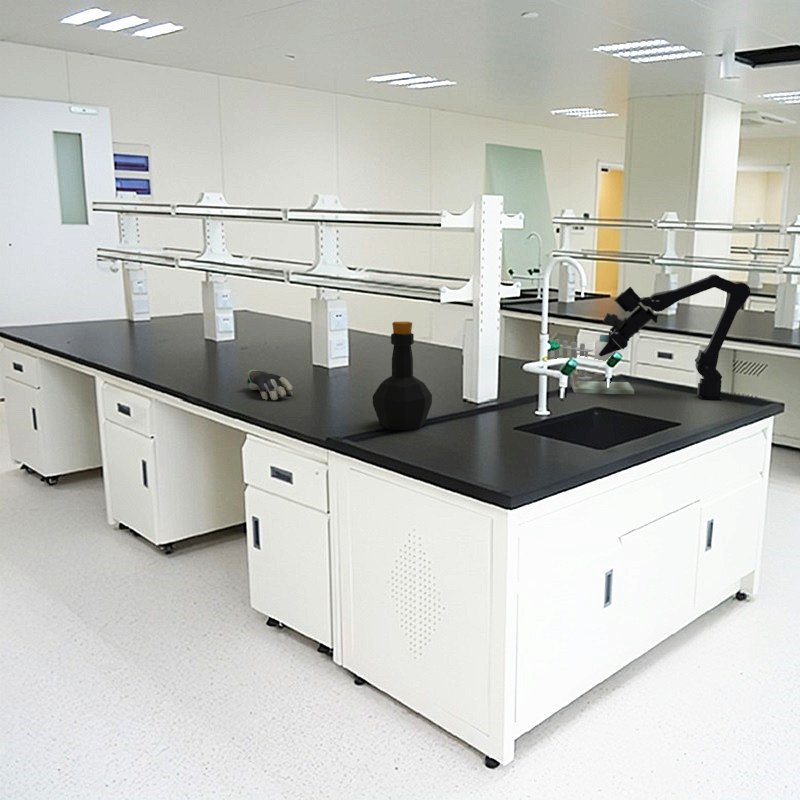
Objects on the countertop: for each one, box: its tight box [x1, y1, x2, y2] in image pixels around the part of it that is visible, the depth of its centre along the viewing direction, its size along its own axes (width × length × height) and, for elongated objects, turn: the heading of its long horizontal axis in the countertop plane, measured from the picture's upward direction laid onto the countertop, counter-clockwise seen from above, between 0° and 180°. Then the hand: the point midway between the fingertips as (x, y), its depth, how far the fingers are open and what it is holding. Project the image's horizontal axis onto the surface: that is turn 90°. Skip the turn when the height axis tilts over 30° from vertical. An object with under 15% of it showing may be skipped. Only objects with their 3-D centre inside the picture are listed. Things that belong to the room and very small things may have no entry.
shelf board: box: [570, 369, 635, 395], centre depth 286 cm, size 20×14×6 cm
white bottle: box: [594, 334, 614, 376], centre depth 278 cm, size 6×6×13 cm
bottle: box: [372, 321, 433, 431], centre depth 233 cm, size 16×16×30 cm
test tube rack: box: [538, 337, 594, 381], centre depth 314 cm, size 25×4×13 cm, turn 34°
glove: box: [247, 369, 294, 401], centre depth 279 cm, size 12×10×25 cm
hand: (599, 353), depth 279 cm, fingers closed on white bottle, 6 cm apart
